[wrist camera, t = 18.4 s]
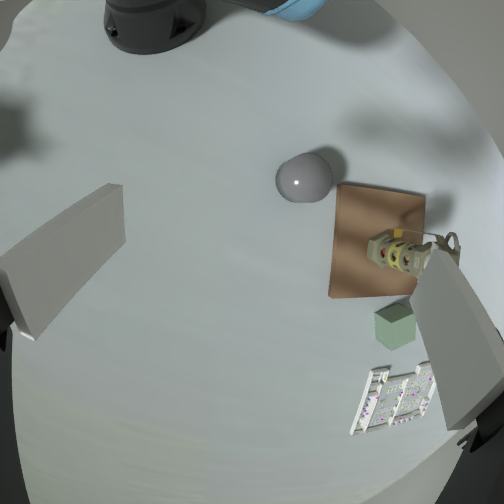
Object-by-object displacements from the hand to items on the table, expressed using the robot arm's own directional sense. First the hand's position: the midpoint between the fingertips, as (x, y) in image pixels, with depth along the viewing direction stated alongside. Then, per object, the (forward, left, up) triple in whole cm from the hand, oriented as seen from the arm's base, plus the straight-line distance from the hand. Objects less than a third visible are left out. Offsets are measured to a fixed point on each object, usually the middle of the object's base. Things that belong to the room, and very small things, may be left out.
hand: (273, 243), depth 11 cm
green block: (+16, +28, -28) cm, 42 cm away
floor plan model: (+33, +39, -28) cm, 58 cm away
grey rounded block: (-5, +10, -28) cm, 30 cm away
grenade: (+3, +24, -26) cm, 36 cm away
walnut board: (+3, +24, -27) cm, 37 cm away
